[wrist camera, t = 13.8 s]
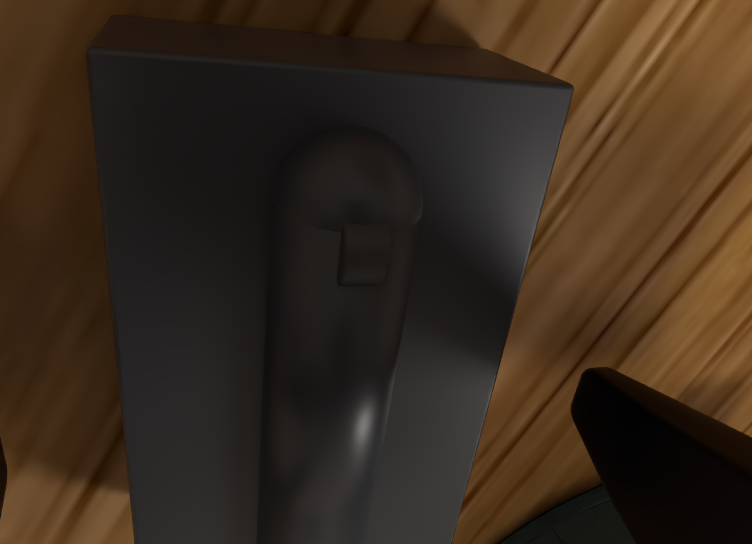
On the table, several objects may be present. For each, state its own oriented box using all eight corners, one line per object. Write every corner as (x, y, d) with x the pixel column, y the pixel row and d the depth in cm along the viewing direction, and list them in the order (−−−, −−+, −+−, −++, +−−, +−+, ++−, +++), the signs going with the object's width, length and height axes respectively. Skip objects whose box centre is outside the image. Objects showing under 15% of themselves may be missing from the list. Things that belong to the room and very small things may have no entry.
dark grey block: (149, 502, 13) (138, 696, 10) (109, 13, 9) (65, 69, 5) (405, 468, 15) (469, 623, 12) (488, 48, 10) (634, 107, 7)
